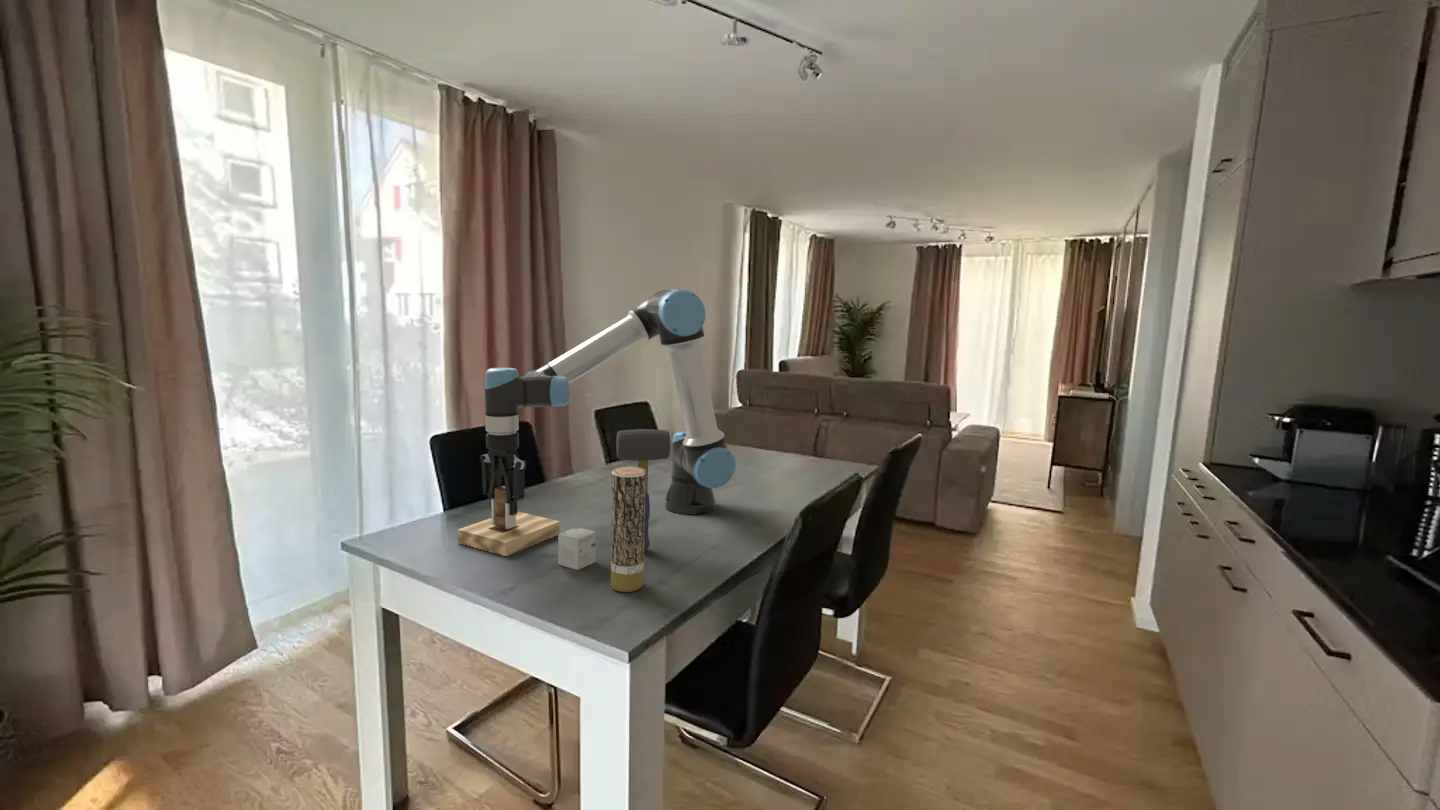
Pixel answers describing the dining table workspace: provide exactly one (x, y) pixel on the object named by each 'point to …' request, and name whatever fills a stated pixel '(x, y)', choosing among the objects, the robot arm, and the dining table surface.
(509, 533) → the board
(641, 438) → the rubber mallet
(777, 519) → the dining table surface
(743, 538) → the dining table surface
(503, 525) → the peg
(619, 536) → the paper tube
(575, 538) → the skincare box
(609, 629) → the dining table surface
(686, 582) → the dining table surface
